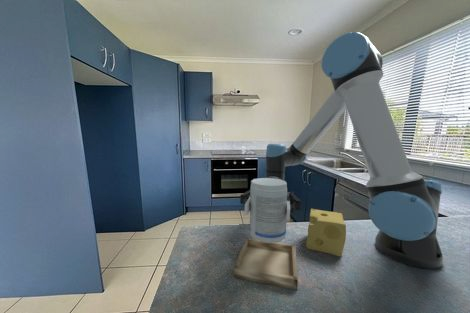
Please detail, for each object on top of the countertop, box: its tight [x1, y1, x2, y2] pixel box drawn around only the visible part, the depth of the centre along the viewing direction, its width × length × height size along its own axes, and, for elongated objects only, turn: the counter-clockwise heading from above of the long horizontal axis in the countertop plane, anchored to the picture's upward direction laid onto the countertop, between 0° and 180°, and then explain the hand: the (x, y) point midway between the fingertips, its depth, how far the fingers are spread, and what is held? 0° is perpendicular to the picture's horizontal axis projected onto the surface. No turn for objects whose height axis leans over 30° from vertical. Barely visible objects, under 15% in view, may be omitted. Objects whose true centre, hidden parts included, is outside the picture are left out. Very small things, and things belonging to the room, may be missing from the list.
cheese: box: [305, 208, 347, 257], centre depth 62 cm, size 10×11×10 cm
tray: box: [233, 237, 299, 291], centre depth 52 cm, size 15×15×2 cm
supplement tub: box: [249, 177, 288, 243], centre depth 51 cm, size 10×10×15 cm
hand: (266, 212), depth 47 cm, fingers closed on supplement tub, 9 cm apart
